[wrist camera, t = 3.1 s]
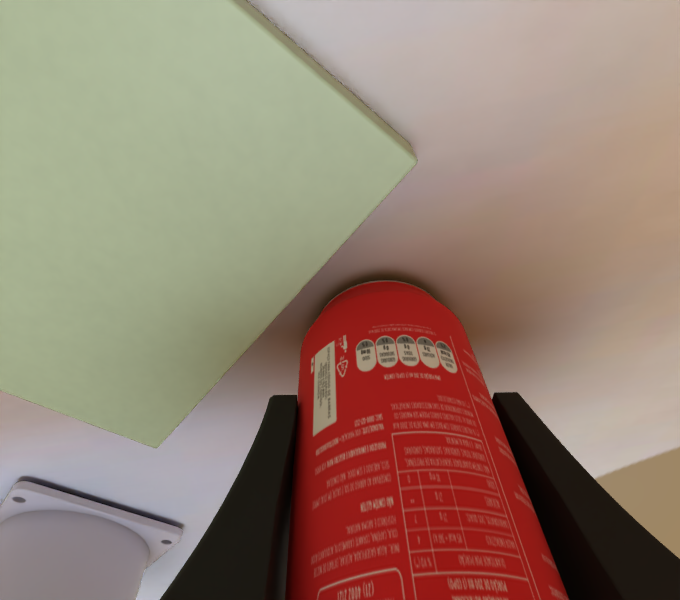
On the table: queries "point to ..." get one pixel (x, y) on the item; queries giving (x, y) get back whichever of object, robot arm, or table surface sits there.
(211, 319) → the board
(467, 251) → the table surface
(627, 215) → the table surface
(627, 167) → the table surface
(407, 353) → the beverage can
